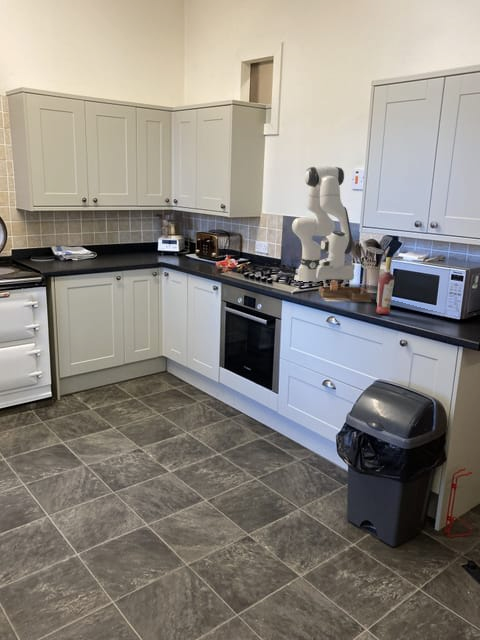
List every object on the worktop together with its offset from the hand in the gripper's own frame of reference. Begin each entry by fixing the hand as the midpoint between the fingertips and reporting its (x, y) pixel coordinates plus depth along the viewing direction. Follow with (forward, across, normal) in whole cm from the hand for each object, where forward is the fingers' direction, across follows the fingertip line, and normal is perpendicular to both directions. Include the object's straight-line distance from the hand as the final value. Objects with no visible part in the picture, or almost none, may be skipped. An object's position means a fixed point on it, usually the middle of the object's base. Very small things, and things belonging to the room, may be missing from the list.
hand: (334, 287), depth 293 cm
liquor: (+6, -17, +32) cm, 36 cm away
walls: (+5, -5, +3) cm, 8 cm away
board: (+6, -6, +3) cm, 9 cm away
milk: (+6, -24, +11) cm, 27 cm away
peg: (+5, 0, 0) cm, 5 cm away
